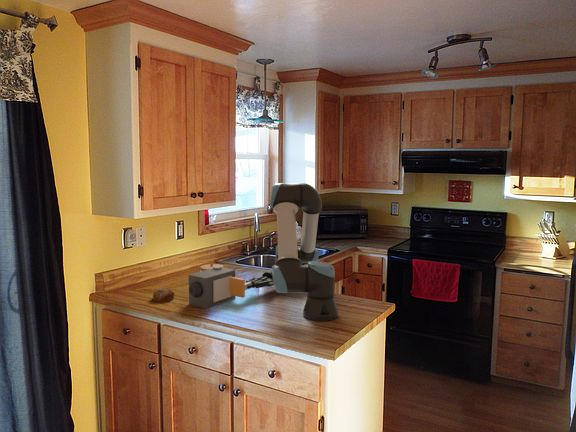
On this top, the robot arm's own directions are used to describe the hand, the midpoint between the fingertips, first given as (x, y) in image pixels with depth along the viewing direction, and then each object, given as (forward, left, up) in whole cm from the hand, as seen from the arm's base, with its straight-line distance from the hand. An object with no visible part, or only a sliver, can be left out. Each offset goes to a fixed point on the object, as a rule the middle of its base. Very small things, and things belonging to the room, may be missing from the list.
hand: (241, 287), depth 230 cm
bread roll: (+34, +18, -7) cm, 39 cm away
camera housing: (+13, +7, -7) cm, 16 cm away
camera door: (+2, +6, -5) cm, 8 cm away
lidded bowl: (+36, -17, -7) cm, 40 cm away
